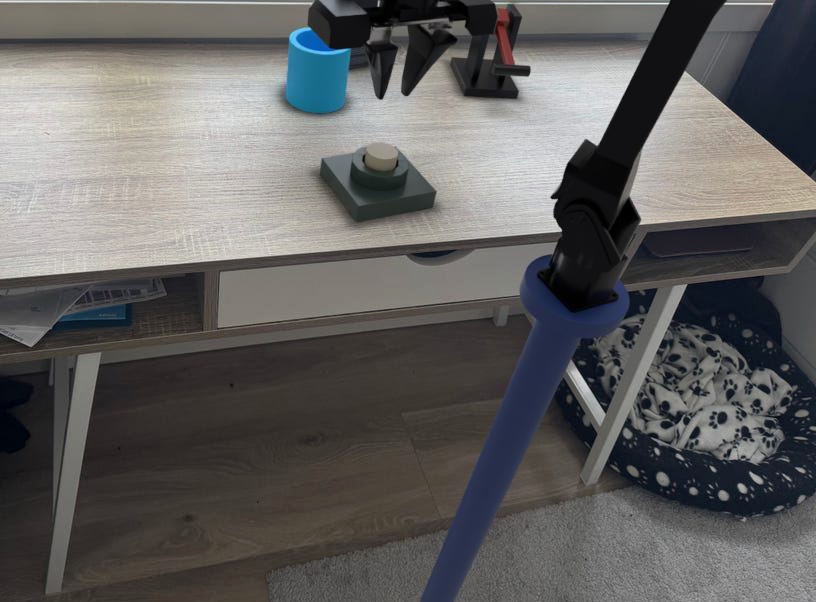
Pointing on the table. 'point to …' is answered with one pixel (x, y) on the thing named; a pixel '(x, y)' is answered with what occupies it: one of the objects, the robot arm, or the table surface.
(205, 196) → the table surface
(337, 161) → the button block
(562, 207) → the robot arm
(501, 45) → the lever
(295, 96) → the mug
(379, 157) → the button
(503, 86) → the bracket
